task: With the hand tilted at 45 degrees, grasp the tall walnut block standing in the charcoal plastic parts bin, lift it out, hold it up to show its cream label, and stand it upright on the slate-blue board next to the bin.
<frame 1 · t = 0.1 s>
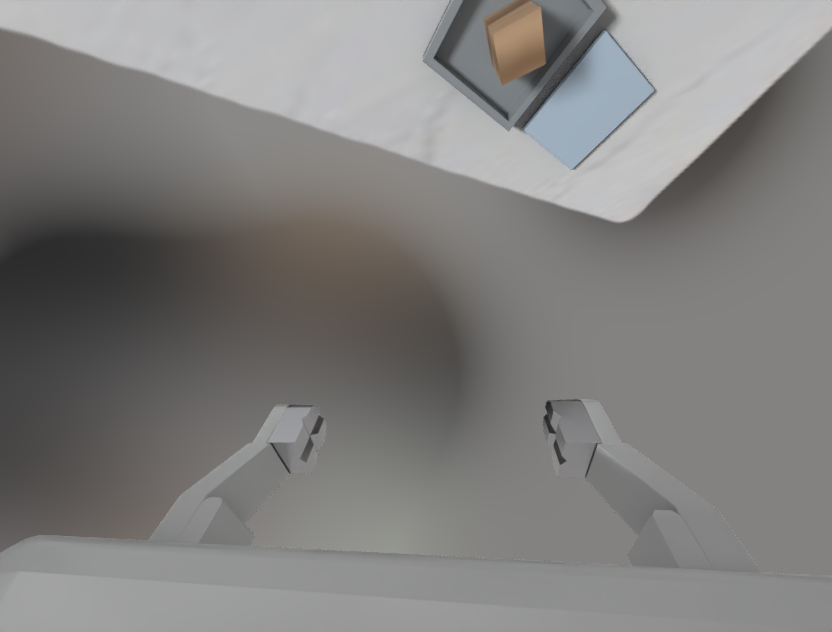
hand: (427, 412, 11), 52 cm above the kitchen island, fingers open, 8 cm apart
slate board: (584, 109, 47), on the kitchen island
walnut block: (506, 32, 40), point 1 cm above the kitchen island, touching parts bin
parts bin: (505, 30, 40), on the kitchen island
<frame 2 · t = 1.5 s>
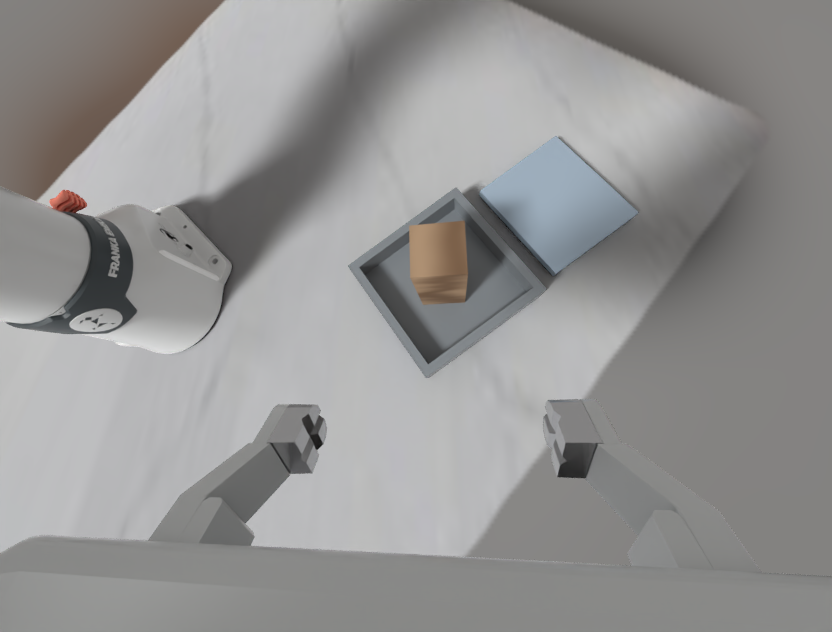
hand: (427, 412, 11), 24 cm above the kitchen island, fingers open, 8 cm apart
slate board: (553, 205, 37), on the kitchen island
walnut block: (442, 283, 36), point 1 cm above the kitchen island, touching parts bin
parts bin: (443, 286, 37), on the kitchen island
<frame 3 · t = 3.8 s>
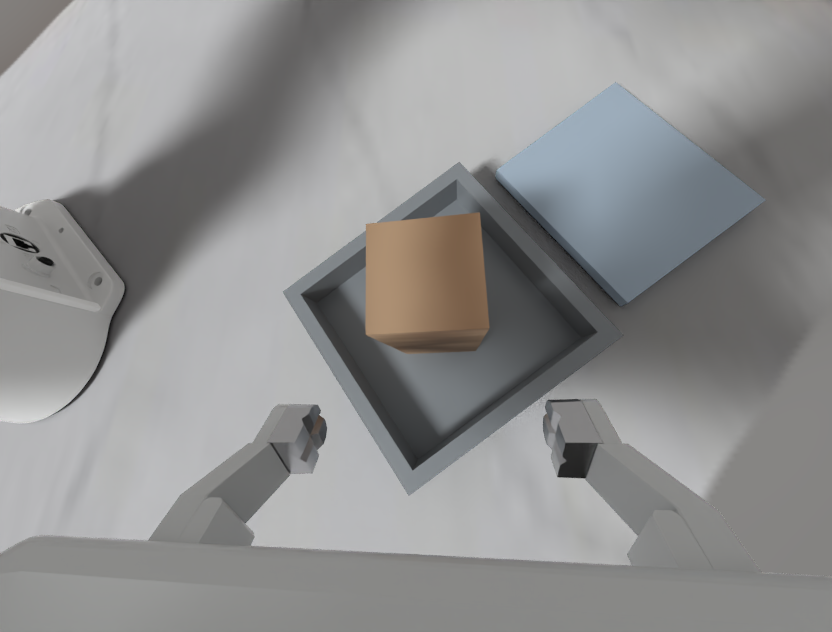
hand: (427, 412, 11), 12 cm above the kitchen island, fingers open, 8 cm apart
slate board: (614, 191, 23), on the kitchen island
walnut block: (439, 318, 22), point 1 cm above the kitchen island, touching parts bin
parts bin: (439, 321, 23), on the kitchen island
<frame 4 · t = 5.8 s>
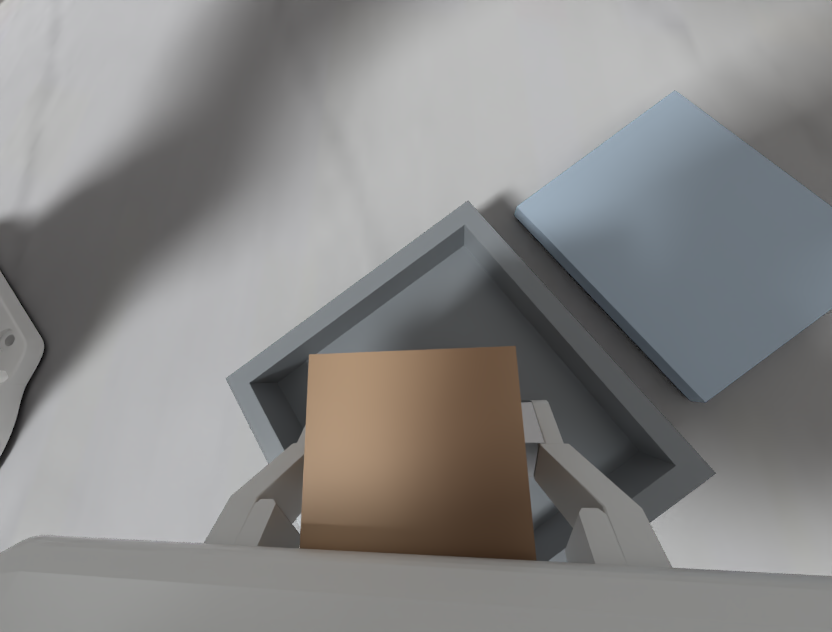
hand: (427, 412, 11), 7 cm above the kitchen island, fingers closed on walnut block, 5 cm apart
slate board: (675, 237, 17), on the kitchen island
walnut block: (439, 413, 16), point 1 cm above the kitchen island, touching gripper, parts bin
parts bin: (440, 411, 17), on the kitchen island
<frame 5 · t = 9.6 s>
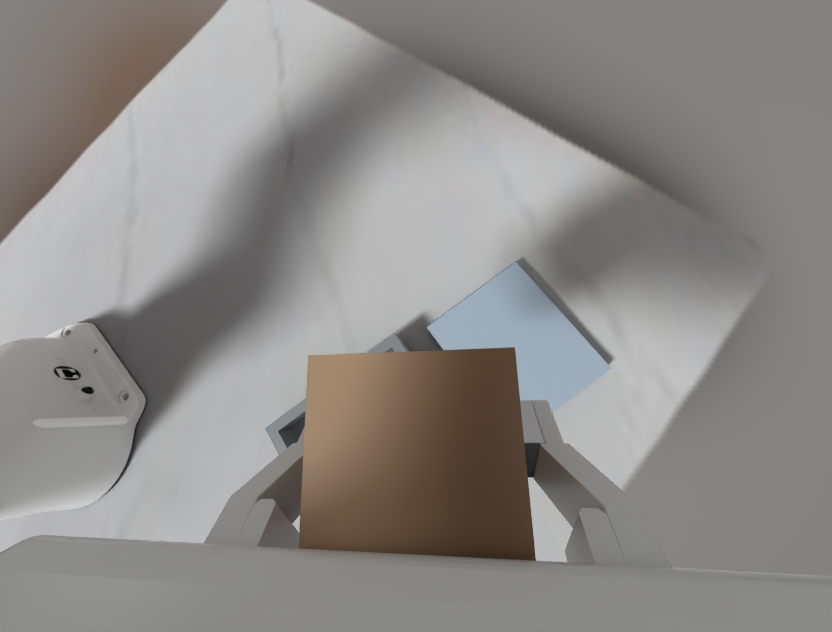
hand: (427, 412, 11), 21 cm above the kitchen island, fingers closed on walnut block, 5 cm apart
slate board: (512, 347, 31), on the kitchen island
walnut block: (439, 413, 16), point 16 cm above the kitchen island, touching gripper
parts bin: (382, 443, 31), on the kitchen island
when the fingers open (8 cm above the kitchen island, at t = 13.6 s): walnut block drops 1 cm, resting on slate board.
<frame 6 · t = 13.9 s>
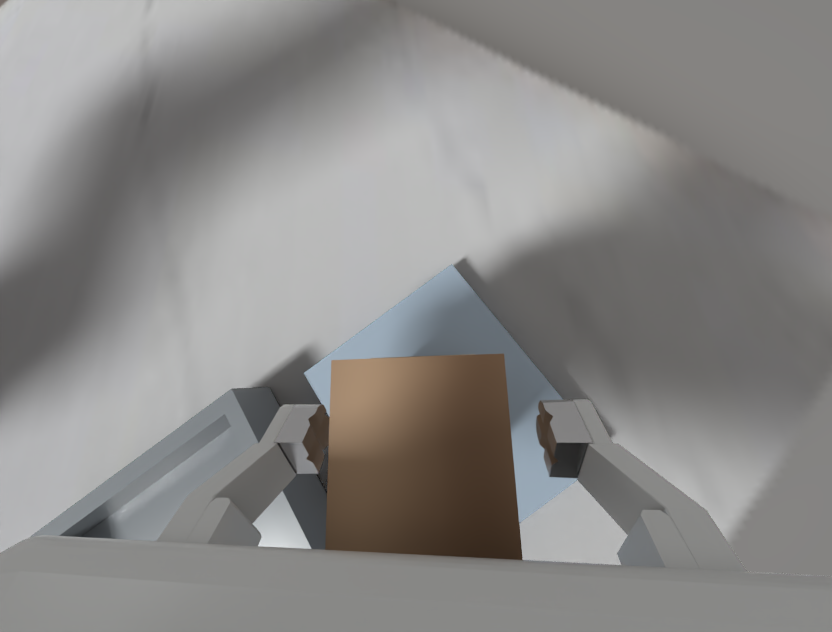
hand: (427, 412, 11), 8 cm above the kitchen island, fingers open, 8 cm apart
slate board: (442, 408, 19), on the kitchen island
walnut block: (440, 411, 18), point 1 cm above the kitchen island, touching slate board
parts bin: (223, 570, 19), on the kitchen island
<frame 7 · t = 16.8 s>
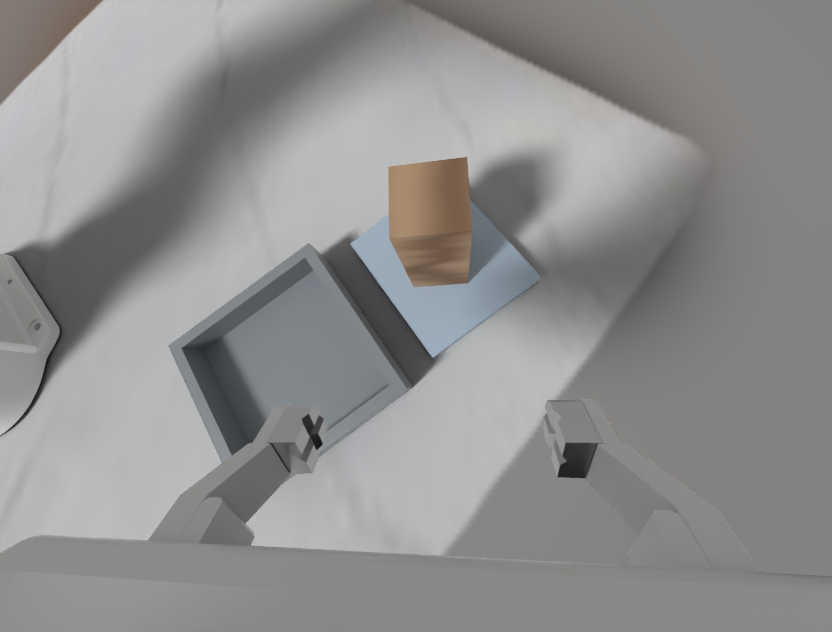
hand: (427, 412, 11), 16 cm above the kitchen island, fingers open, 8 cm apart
slate board: (440, 263, 29), on the kitchen island
walnut block: (439, 259, 28), point 1 cm above the kitchen island, touching slate board
parts bin: (299, 367, 29), on the kitchen island
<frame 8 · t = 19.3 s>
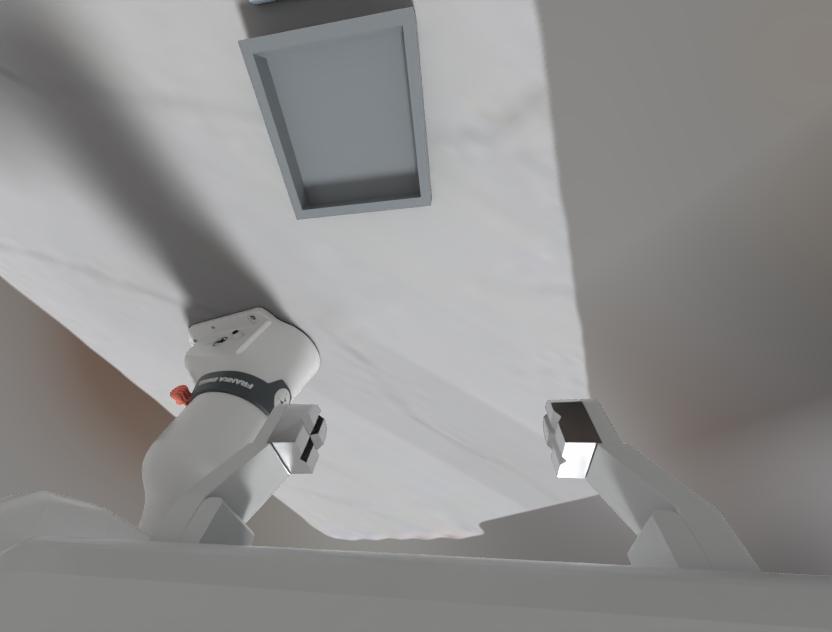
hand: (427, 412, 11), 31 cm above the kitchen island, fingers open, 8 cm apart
parts bin: (353, 131, 33), on the kitchen island
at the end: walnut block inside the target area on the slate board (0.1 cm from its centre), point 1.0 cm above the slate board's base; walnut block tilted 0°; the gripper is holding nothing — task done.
